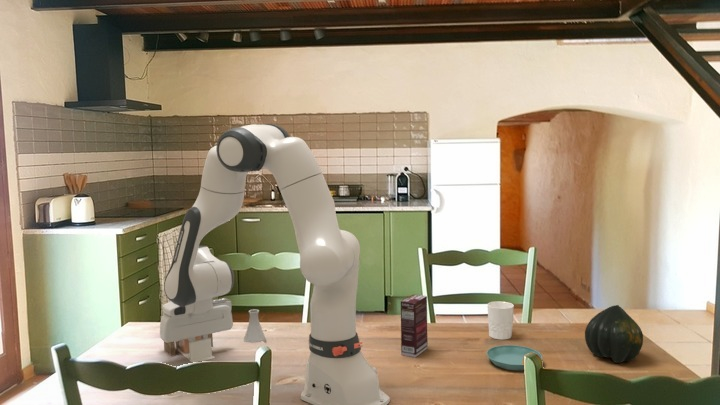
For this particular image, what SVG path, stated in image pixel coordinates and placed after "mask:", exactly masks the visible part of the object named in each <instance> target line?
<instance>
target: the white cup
mask: <svg viewBox="0 0 720 405" xmlns="http://www.w3.org/2000/svg"><path fill="white" fill-rule="evenodd" d="M514 310H515V308H514V304H513V303H511V302H507V301H500V300H499V301H498V300H497V301H490V302H487V323H488V335H489V337H490V338H492V339H495V340H510V339H511V338H512V335H513V333H512V332H513V325H514V324H513V323H514Z"/></svg>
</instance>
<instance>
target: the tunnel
mask: <svg viewBox="0 0 720 405" xmlns="http://www.w3.org/2000/svg"><path fill="white" fill-rule="evenodd" d="M208 338H211V346H212V348H213V347H214V344H213V343H214V342H213V340H214V339H213V333H212V334H208ZM201 339H202V337H201ZM163 349H164V351H165V352H166V353H167V354H168V355H169V356H170V357H173V356H176V349H175V341H174V342H169V343H166V342H164V341H163Z"/></svg>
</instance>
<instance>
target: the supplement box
mask: <svg viewBox="0 0 720 405" xmlns="http://www.w3.org/2000/svg"><path fill="white" fill-rule="evenodd" d="M400 343H401V344H400V346H401V347H400V350H401V356H406V357H409V358H410V357H411V358H416V357H418V356H419V355H420V354H422V353H423V352H425V351H426V350H427V349H428V346H429V345H428V296H427V295H421V294H412V295H410V296H408V297H406V298H404V299H402V300H400Z"/></svg>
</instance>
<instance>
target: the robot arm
mask: <svg viewBox="0 0 720 405" xmlns="http://www.w3.org/2000/svg"><path fill="white" fill-rule="evenodd" d="M308 145H309V144H307V143H306V141H305V140H304V139H302V138H301V137H298V136H290V135H289V132H287V130H285V128H283V127H282V126H279V125H278V124H277V125H276V124H273V123H265V124H255V123H254V124H249V125H248V124H247V125H243V126H239V127H238V126H236V127H233V128H230V129H228V130H226V131H225V132H223V133H222V134H220V137H219V138H218V139H217V142H216V145H215V146H212V147H211V148H210V149H209V151H208V152H207V156H206V158H205V161H204V165H203V169H202V174H201V182H200V189H199V193H198V195H197V197H196V200H195V202H194V204H192V206H191V207H190V208H189V209H188V210H187V211H186V213H185V215H184V217H183V219H182V224H181V226H180V230H179V234H178V238H177V242H176V247H175V249H174V253H173V256H172V261H171V265H170V267H169V269H168V272H166V273H167V274H166V275H165V278H164V284H163V288H164V290H163V291H164V294H165V296H166V298H167V300H168V299H169V300H170V302H169V300H168V302H166V303H165V304H163V305H162V311H163V314H162V316H161V318H160V326H159V336H160V339H161V340H162V341H163V343H164V342H166V343H169V342H174V341H178V340H183V339H188V340H189V342H191V341H195V337H197V336H201V337H202V339H205V338H208V334H212V335H213V334H216V333H220V332H224V331H230V330H232V328H233V327H234V322H233V314H232V308H233V306H232V301H231V300H230V299H229V298H227V297H222V298H219V297H221V296H224V295H227V294H229V293H230V292H231V291H232V289H233V288H234V284H235V272H234V270H233V268H232V267H231V265H230V264H229V263H227V262H226V261H224V260H221V259H219V258H218V257H216V256H214V255H213V253H211V250H210V249H209V248H210V247H208V246H207V245H200V243H201V241H202V240H203V238H204V237H205V236H206V235H207V234H208V233H209V232H211V231H213V230H214V229H216V228H218V227H219V226H221V225H223V224H225V223H228V222H229V221H231V220H233V218H235V217H236V216H237V215H238V214H239V213H240V211H241V209H242V207H243V204H244V198H245V192H246V191H245V189H246V180H247V175H248V173H249V172H260V171H261V170H264V169H265V170H267V171H268V172H270V173H271V175H273V177H274V180H275V181H276V185H277V187H278V189H279V191H280V192H279V193H281V197H282V199H283V202H284V204H285V206H286V209H287V211H288V213H289V217H290V219H291V222H292V226H293V229H294V233H295V239H296V244H297V248H298V252H299V268H300V272H301V274H302V276H303V277H304V279H305V280H306V281H307V282H309V283H310V284H312V285H313V288H312V289H313V290H312V294H311V298H310V304H309V306H310V312H309V313H310V334H308V335H309V336H308V338H309V339H308V350H309V351H310V354H309V357H308V359H307V361H306V363H305V371H304V372H305V373H304V374H305V375H304V388H303V389H304V390H303V391H302V392H300V400H302V401H304V402H306V403H308V404H310V405H388V404H389V403H390V401H391V398H390V396H389V395H388V394H387V393H385V392H384V391H383V390H382V389H380V381H379V377H378V371H377V368H376V367H375V366H372V365H371V364H370V362H368V360H367V359H366V357H365V356H364V354H363V353H362V351H361V350H362V347H363V345H362V344H363V341H361V342H360V338H359V335H358V332H357V319H356V318H357V309H356V307H357V302H356V301H357V292H358V281H359V271H360V270H359V269H360V256H361V245H360V242H359V240H358V238H357V237H356V236H355V235H354V233H352V232H350V231H347V230H344V229H340V226H339V222H338V218H337V213H336V204H335V200H334V197H333V196H332V194H331V191H330V189H329V186H328V184H327V181H326V178H325V176H324V174H323V172H322V168H321V167H320V165H319V162H318V160H317V159H316V157H315V155H314V154H313V152H312V150H311V148H310V147H309V146H308ZM217 297H218V298H217ZM214 298H217V299H214Z"/></svg>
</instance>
